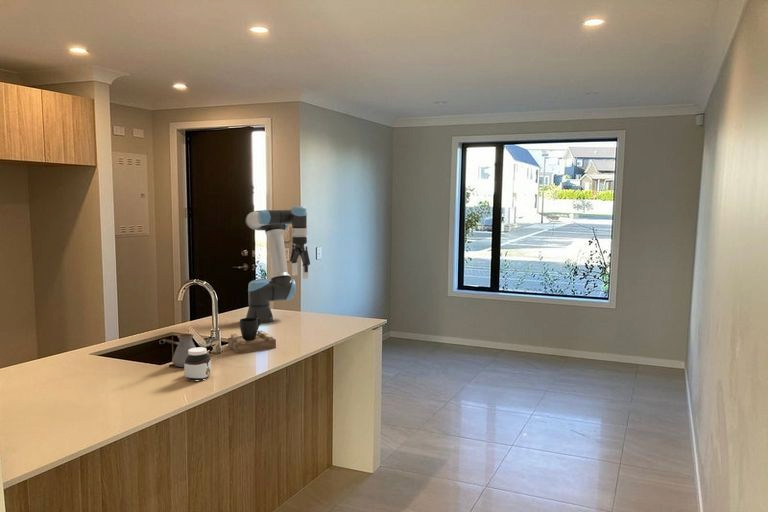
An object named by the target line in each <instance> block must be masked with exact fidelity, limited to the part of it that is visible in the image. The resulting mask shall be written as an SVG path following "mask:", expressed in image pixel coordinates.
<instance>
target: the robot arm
mask: <svg viewBox="0 0 768 512" xmlns="http://www.w3.org/2000/svg"><path fill="white" fill-rule="evenodd" d="M307 216H308V213H307V208H306V206H300V205H299V206H292V207H291V209H279V210H278V209H263V210H255V211H251V212H249V213H248V214H247V215H246V217H245V224H246V226H247V227H248V228H249V229H251V230H253V231H264V233H265V235H266V236H267V237H268V243H269V252H270V258H271V259H270V261H271V267H272V268H271V269H272V276H271V278H270V279H269V278H258V279H253V280H251V281H250V282H249V283H248V289H247V292H248V293H247V294H248V309H247V311H246V316H245V318H260V324H264V323H269V322H270V323H271V322H272V321H273V320H274V316H273V312H272V309H271V306H270V302H277V301H279V302H280V301H288V300H289V301H290V300H292V299H294V297H295V294H296V287H297V286H296V281H295V279H294V278H293V279H292V276H298V259H299V257H300V259H301V262H302V279H303V280H304V279H309V265H311V262H310V261H311V260H310V257H309V256H310V255H309V251H308V246H305V245H306V244H308V239H307V236H308V227H307V224H308V222H307ZM288 225H291V233H292V234H291V235H292V238H291V241H292V247H291V253H290V257H289V261H290V263H291V274H292V276H291V274H289V272H288V264H287V262H288V261H287V257H286V256H287V254H286V249H285V248H286V247H285V240H284V238H285V237H284V234H285V233H286V230H287V229H288Z"/></svg>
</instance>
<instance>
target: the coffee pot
mask: <svg viewBox="0 0 768 512" xmlns="http://www.w3.org/2000/svg"><path fill="white" fill-rule="evenodd" d="M194 336H195V335H194V334H193V333H181V334H178V335H177V338H178V341H174V340H171V339H166V338H162V339H159V345H160V344H161V345H163V344H165V343H167V344H173V345H177V346H176V348H175V351H174V353H173V356H172V359H171V362H172V364H174V365H175V366H176V367H177V366H179V367H184V363H185V359H186V358H187V356H188V355H189V354H188V350H189V349H191V348H197V347H196V345H195V343H194V341H193V337H194ZM161 341H162V342H163V343H161ZM179 367H178V368H179Z"/></svg>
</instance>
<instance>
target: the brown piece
mask: <svg viewBox="0 0 768 512" xmlns="http://www.w3.org/2000/svg"><path fill="white" fill-rule="evenodd" d="M227 341H228V347H229V348H230V347H231V348H230V349H232V350H233V351H234V350H235V351H234V352H236V353H237V354H244V353H250V352H257V351H258V352H259V351H264V349H265V350H270V348H272V349H277V339H275V338H274V337H273V336H272V335H270V334H269V333H267V332H266V331H263V330H258V331H257V335H256V339H255V340H252V341H246V340H244V339H243V337H242V335H238V334H236V333H231V334H230V337H228V338H227Z"/></svg>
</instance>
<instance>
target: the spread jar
mask: <svg viewBox="0 0 768 512" xmlns="http://www.w3.org/2000/svg"><path fill="white" fill-rule="evenodd" d="M188 354H189V355H188V356H187V358H186V359H185V363H184V368H183V369H184V377H185V378H186V379H187V380H188V379H189V380H188V381H190V380H203V379H206V378H207V379H209V377H210V375H211V373H212V360H211V359H212V358H211V355H210V354H208V353H207V348H206V347H203V346H202V347H200V346H199V347H196V348H191V349H189V350H188ZM207 379H206V380H207ZM203 381H204V380H203Z"/></svg>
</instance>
